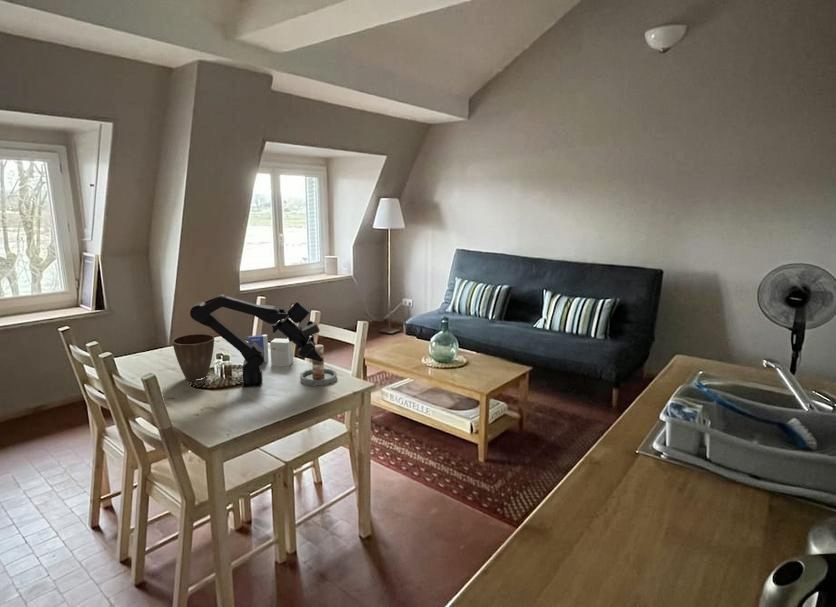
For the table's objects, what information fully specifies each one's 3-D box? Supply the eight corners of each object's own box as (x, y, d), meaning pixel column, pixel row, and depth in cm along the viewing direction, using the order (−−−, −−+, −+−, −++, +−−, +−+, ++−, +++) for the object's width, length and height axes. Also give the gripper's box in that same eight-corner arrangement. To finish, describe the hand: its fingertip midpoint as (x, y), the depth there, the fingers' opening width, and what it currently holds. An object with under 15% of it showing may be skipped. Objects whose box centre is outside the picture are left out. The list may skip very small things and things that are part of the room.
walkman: (250, 364, 210) (248, 337, 207) (249, 362, 212) (247, 335, 210) (269, 361, 213) (268, 335, 211) (268, 359, 216) (266, 333, 213)
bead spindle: (315, 380, 191) (314, 348, 188) (310, 377, 194) (309, 345, 192) (326, 378, 194) (326, 346, 191) (321, 374, 197) (320, 343, 195)
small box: (293, 362, 213) (292, 338, 211) (289, 366, 208) (288, 342, 206) (275, 361, 214) (274, 338, 212) (270, 365, 209) (269, 341, 206)
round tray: (300, 386, 186) (299, 381, 186) (300, 373, 199) (300, 369, 199) (337, 384, 189) (337, 379, 188) (335, 372, 202) (335, 367, 202)
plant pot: (177, 373, 197) (174, 335, 194) (217, 369, 202) (214, 332, 199) (173, 387, 183) (170, 346, 180) (216, 382, 189) (213, 342, 185)
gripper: (307, 322, 179) (338, 349, 184) (305, 310, 196) (334, 336, 202) (285, 344, 179) (317, 370, 184) (286, 330, 196) (315, 355, 201)
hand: (321, 357), depth 193 cm, fingers open, 9 cm apart
